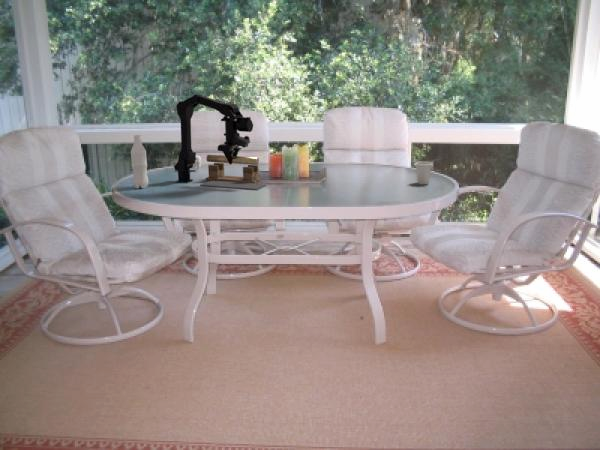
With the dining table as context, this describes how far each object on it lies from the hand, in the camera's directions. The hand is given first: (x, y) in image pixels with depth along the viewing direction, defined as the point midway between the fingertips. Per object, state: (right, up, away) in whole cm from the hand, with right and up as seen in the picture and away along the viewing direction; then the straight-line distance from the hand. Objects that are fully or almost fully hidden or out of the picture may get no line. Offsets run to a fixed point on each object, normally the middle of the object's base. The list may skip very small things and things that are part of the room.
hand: (232, 163), depth 287 cm
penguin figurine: (-28, 0, +43) cm, 51 cm away
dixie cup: (+93, -9, +8) cm, 94 cm away
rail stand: (-1, -7, +14) cm, 16 cm away
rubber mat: (0, -10, +3) cm, 11 cm away
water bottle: (-44, -12, -1) cm, 45 cm away
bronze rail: (0, +2, -1) cm, 2 cm away
